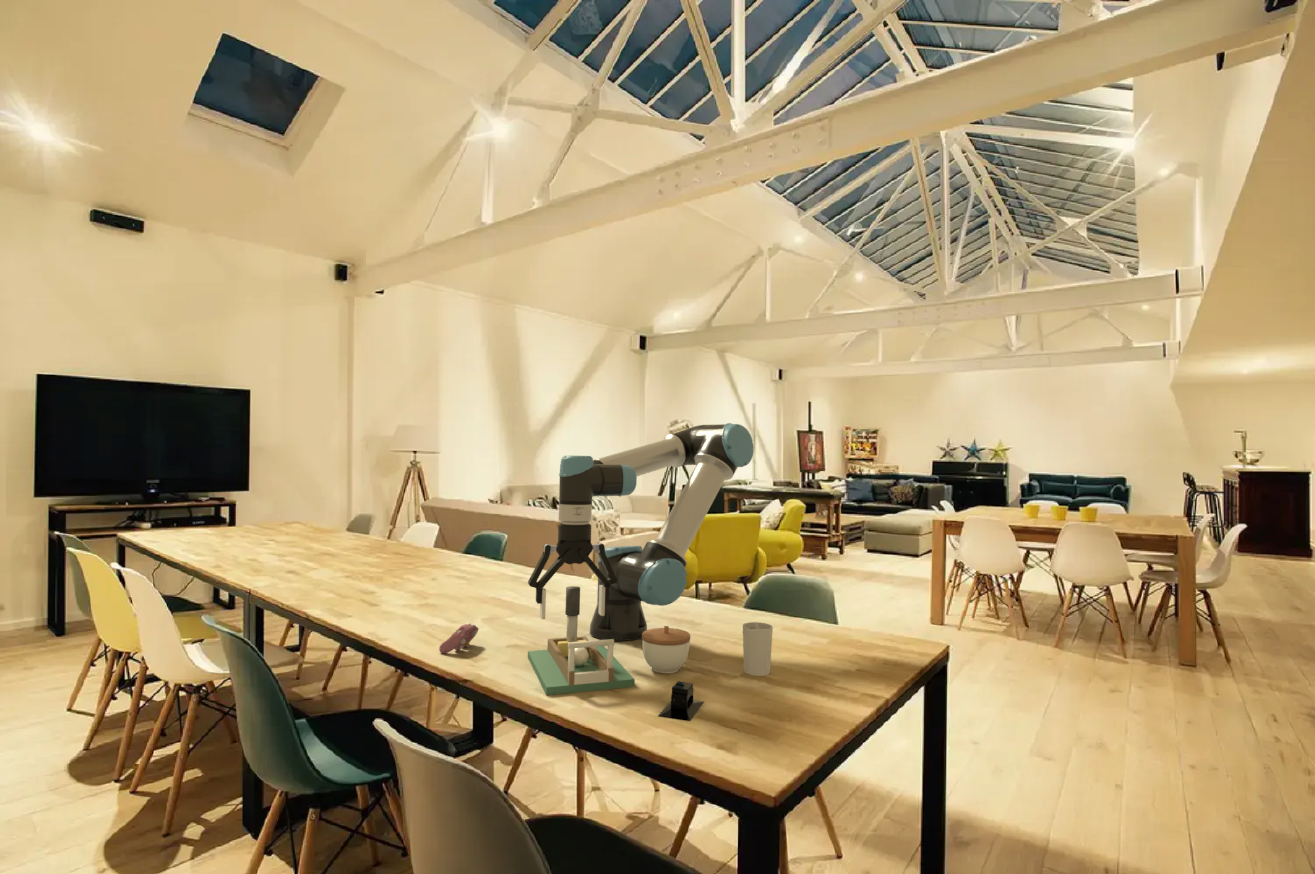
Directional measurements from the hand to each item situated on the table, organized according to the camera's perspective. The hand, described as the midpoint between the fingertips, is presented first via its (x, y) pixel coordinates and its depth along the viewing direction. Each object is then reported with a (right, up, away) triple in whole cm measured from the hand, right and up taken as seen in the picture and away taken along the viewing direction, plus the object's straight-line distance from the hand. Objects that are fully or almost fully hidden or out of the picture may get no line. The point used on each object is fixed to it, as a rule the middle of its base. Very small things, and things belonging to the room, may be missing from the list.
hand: (572, 616), depth 149 cm
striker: (0, -9, -1) cm, 9 cm away
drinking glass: (+41, -11, -4) cm, 43 cm away
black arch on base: (+24, -11, -27) cm, 38 cm away
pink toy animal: (-28, -10, +8) cm, 31 cm away
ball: (+2, -7, -8) cm, 10 cm away
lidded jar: (+21, -11, -4) cm, 24 cm away
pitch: (+2, -10, -7) cm, 12 cm away
